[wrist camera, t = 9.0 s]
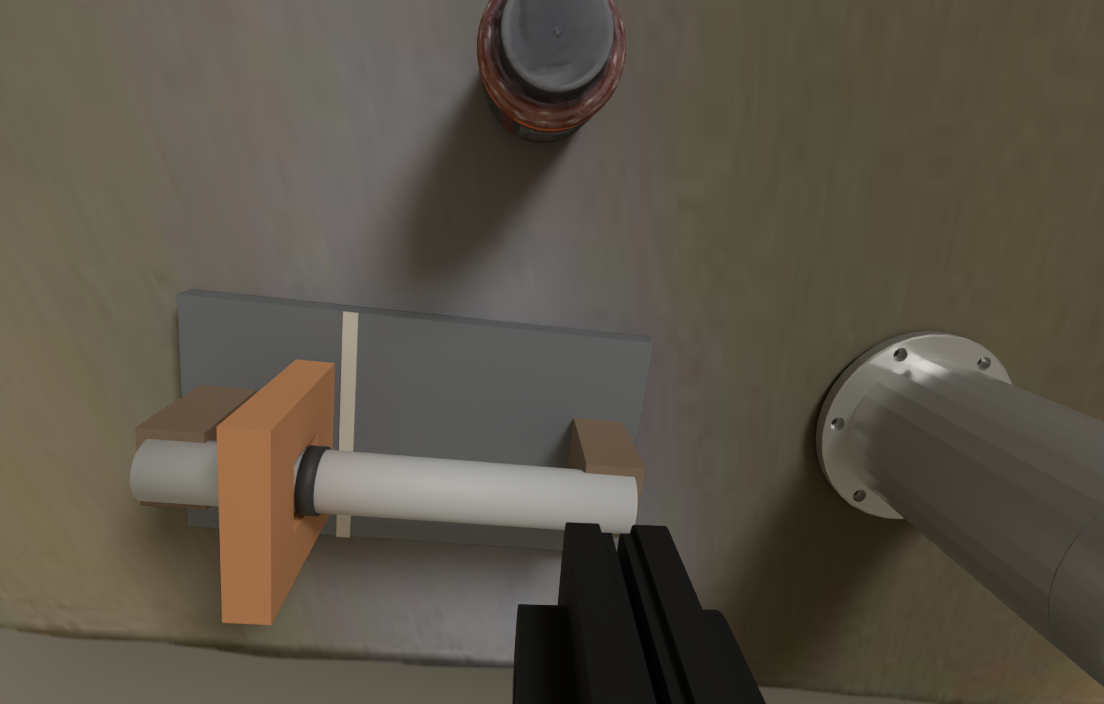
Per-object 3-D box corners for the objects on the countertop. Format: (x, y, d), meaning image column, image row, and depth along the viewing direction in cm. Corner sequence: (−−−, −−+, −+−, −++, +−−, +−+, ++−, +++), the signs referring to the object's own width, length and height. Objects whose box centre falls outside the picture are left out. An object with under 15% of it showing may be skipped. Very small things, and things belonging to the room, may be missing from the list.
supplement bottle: (615, 112, 32) (670, 77, 21) (516, 163, 32) (521, 154, 22) (567, -1, 30) (600, -101, 20) (463, 54, 31) (439, -14, 20)
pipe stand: (647, 336, 36) (693, 387, 27) (612, 540, 39) (643, 643, 31) (191, 289, 33) (77, 328, 24) (200, 512, 37) (103, 616, 28)
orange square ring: (334, 363, 32) (270, 431, 23) (330, 512, 34) (271, 624, 25) (296, 359, 31) (216, 426, 23) (294, 510, 34) (222, 622, 25)
